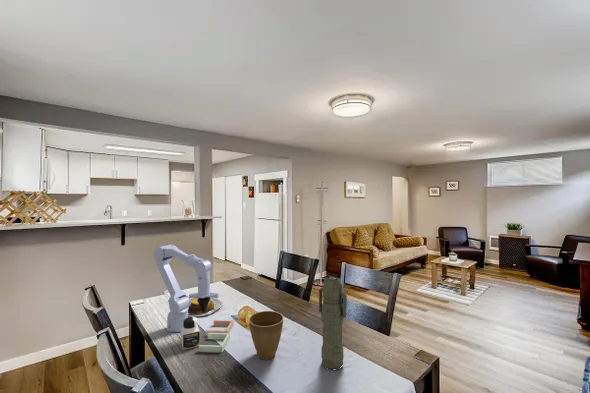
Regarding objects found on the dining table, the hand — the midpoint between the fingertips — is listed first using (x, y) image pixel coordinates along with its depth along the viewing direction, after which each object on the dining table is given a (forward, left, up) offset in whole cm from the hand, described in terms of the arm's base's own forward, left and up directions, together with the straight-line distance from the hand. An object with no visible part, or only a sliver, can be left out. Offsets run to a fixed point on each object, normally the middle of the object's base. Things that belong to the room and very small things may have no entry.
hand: (204, 312), depth 140 cm
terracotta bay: (+7, +3, -10) cm, 13 cm away
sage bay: (+9, -11, -10) cm, 17 cm away
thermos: (+62, -23, -11) cm, 67 cm away
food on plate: (-13, +29, -11) cm, 34 cm away
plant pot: (+34, -18, -11) cm, 40 cm away
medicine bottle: (-2, -11, -11) cm, 15 cm away
